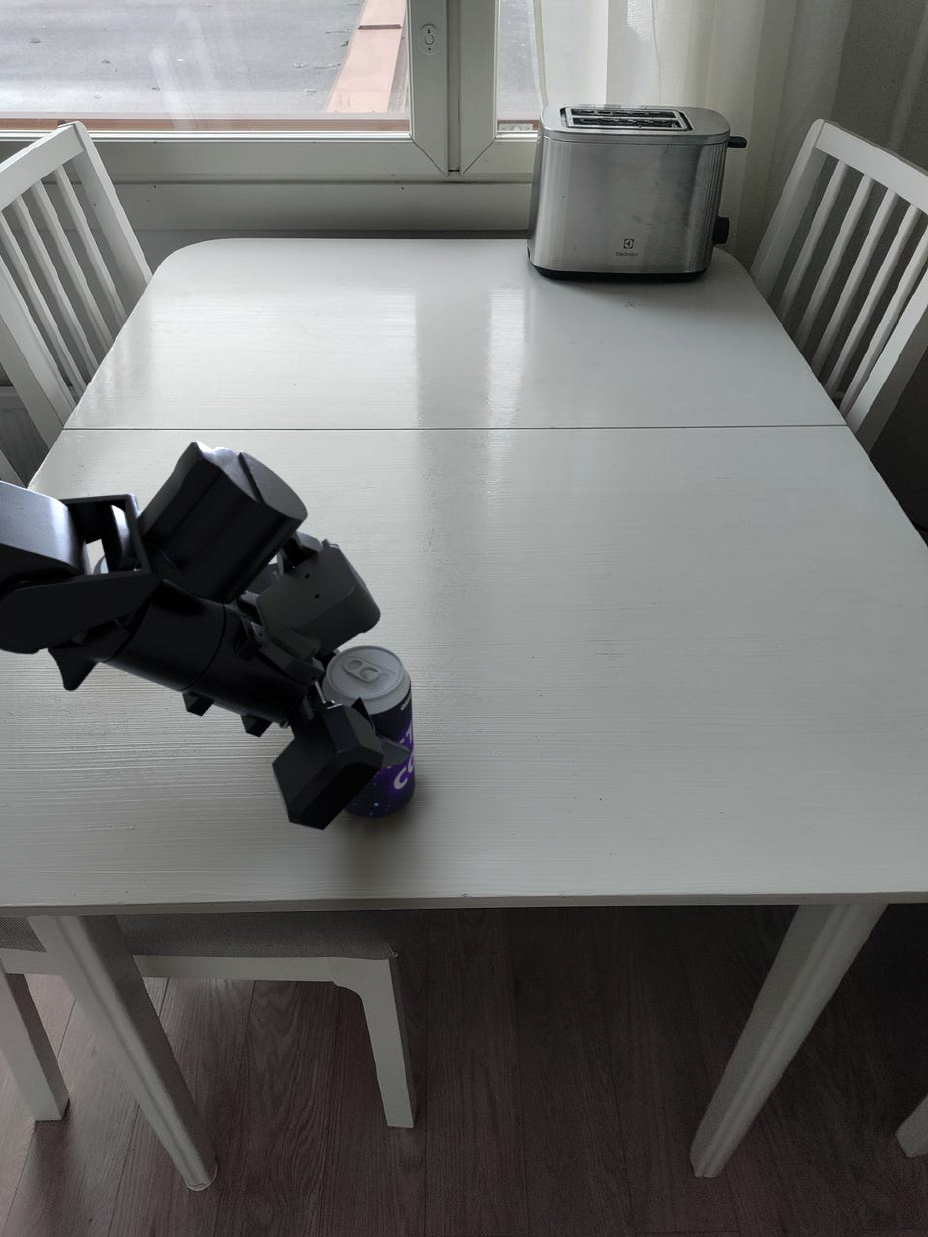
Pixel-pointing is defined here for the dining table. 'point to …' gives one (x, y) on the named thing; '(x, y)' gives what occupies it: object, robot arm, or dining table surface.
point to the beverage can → (377, 720)
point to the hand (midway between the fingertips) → (389, 724)
